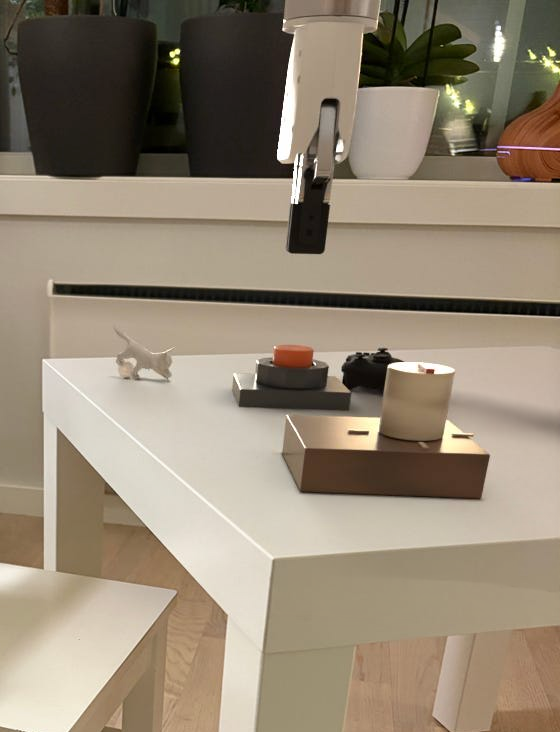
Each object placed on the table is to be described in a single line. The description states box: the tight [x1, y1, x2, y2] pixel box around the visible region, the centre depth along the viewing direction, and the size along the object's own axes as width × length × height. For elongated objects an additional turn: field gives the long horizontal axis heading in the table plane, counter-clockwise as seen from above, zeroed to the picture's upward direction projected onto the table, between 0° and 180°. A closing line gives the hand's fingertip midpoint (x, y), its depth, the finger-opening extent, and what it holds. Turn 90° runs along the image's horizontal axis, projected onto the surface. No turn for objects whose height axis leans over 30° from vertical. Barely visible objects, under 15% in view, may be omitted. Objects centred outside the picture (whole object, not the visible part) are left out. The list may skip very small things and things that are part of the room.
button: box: [272, 344, 315, 367], centre depth 90 cm, size 4×4×2 cm
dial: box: [378, 361, 456, 441], centre depth 67 cm, size 4×4×5 cm
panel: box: [281, 414, 491, 499], centre depth 69 cm, size 12×10×3 cm
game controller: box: [340, 347, 406, 392], centre depth 98 cm, size 10×5×7 cm
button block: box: [231, 356, 352, 412], centre depth 91 cm, size 10×8×4 cm
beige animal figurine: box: [113, 324, 176, 382], centre depth 99 cm, size 3×8×6 cm
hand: (304, 252), depth 87 cm, fingers closed
